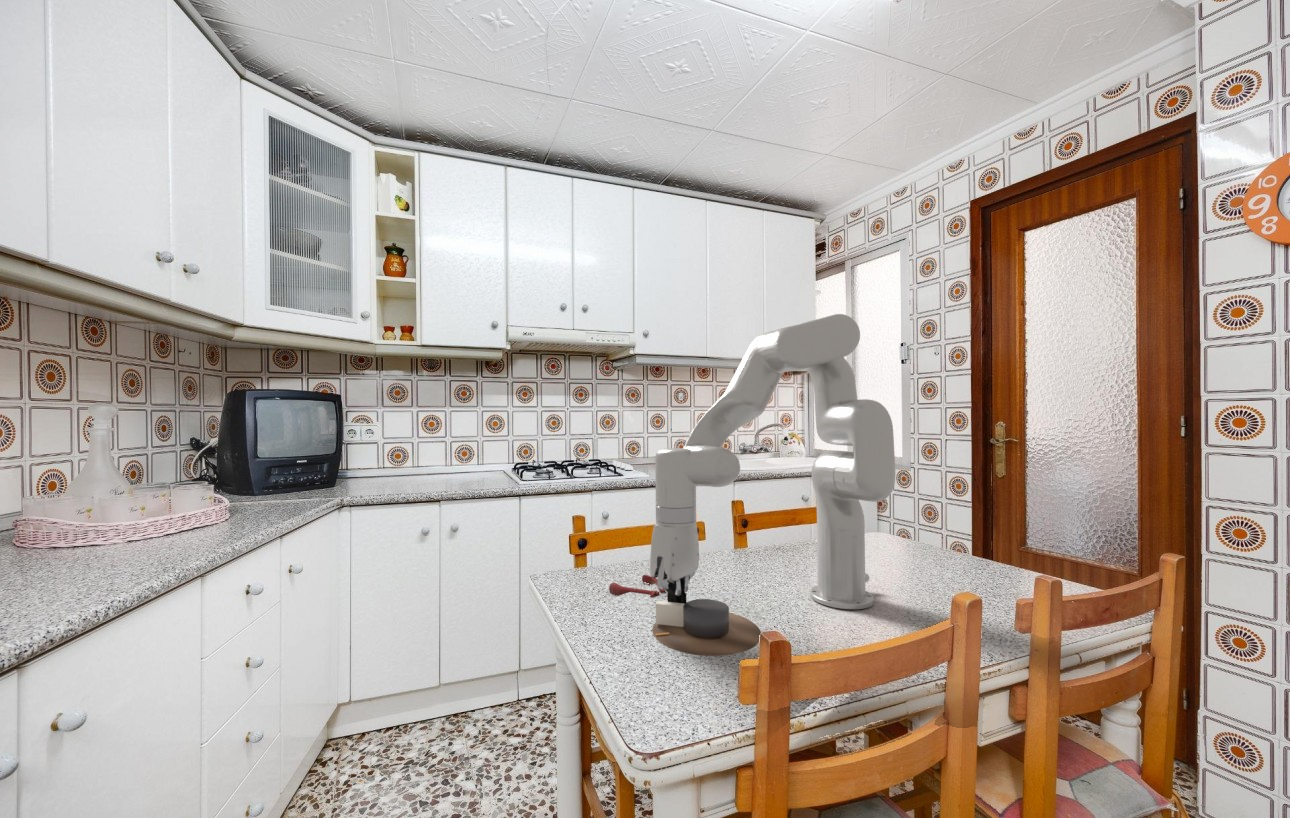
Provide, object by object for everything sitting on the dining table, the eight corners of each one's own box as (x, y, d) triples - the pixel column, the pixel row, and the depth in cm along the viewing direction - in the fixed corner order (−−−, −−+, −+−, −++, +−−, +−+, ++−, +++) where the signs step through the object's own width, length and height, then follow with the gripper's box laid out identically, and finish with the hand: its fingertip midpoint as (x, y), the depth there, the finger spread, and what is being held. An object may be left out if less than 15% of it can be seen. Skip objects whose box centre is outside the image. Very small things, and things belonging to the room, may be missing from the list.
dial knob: (731, 621, 91) (731, 601, 91) (726, 640, 83) (726, 618, 83) (662, 614, 94) (662, 594, 94) (651, 631, 86) (650, 610, 87)
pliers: (664, 621, 96) (664, 608, 97) (606, 593, 112) (606, 582, 112) (706, 608, 103) (706, 595, 104) (646, 583, 119) (646, 572, 119)
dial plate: (699, 609, 101) (699, 601, 101) (782, 639, 87) (782, 629, 87) (630, 638, 88) (630, 628, 88) (715, 678, 74) (714, 666, 74)
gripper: (681, 507, 101) (682, 598, 100) (634, 519, 89) (635, 622, 89) (714, 511, 96) (715, 606, 96) (669, 524, 84) (670, 633, 84)
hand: (677, 613), depth 92 cm, fingers closed
